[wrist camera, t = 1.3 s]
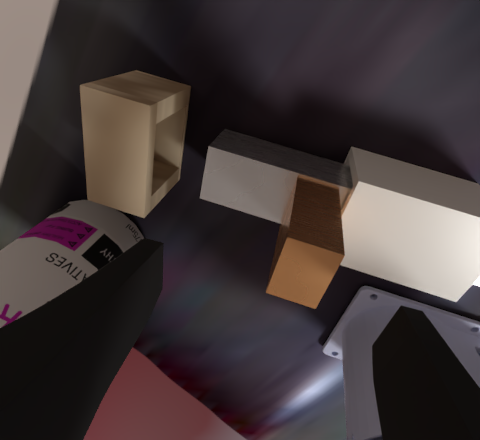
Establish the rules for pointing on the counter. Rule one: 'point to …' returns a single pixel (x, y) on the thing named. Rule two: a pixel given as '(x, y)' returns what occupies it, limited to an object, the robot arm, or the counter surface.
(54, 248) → the supplement can
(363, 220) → the white rectangular block
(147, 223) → the counter surface
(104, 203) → the oak socket
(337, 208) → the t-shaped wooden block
